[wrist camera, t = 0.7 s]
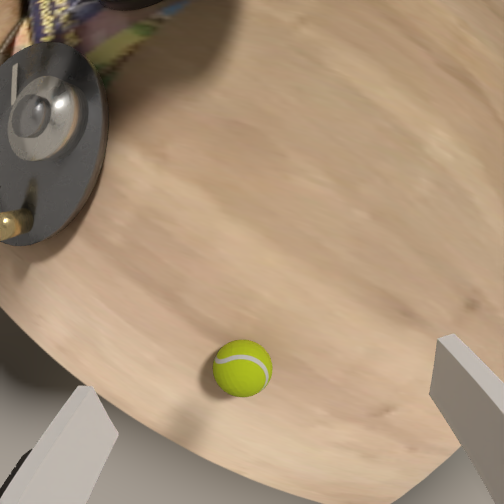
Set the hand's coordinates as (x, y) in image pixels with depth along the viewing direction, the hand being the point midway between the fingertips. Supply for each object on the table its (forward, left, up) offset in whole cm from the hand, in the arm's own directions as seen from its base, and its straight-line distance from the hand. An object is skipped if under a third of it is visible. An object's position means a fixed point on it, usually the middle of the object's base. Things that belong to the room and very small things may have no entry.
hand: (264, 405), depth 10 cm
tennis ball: (+12, -4, -25) cm, 28 cm away
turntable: (-19, -27, -23) cm, 40 cm away
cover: (-19, -20, -21) cm, 34 cm away
